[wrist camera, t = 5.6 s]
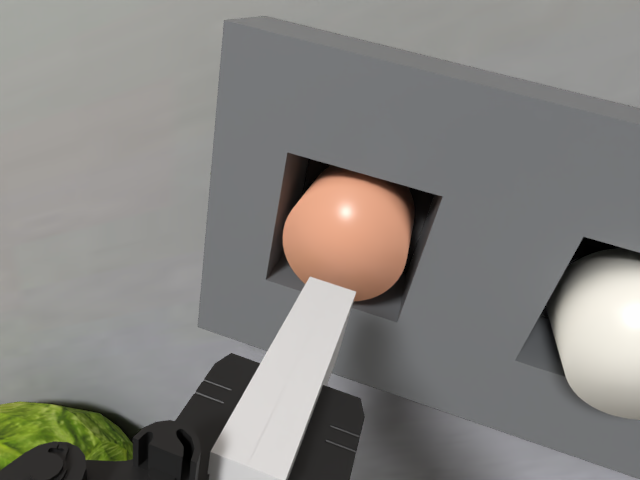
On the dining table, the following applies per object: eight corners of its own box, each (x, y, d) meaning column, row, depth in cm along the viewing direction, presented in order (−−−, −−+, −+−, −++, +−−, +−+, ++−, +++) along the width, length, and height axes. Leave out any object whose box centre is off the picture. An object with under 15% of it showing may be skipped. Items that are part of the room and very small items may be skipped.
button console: (1239, 256, 15) (1489, 339, 12) (895, 502, 22) (983, 603, 19) (264, 15, 20) (220, 20, 16) (231, 284, 27) (194, 330, 23)
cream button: (717, 271, 17) (776, 332, 14) (645, 367, 20) (681, 438, 17) (580, 232, 18) (606, 282, 15) (526, 330, 20) (539, 391, 17)
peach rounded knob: (429, 176, 20) (424, 210, 17) (397, 271, 23) (387, 316, 19) (318, 145, 21) (293, 172, 18) (299, 241, 23) (274, 279, 20)
